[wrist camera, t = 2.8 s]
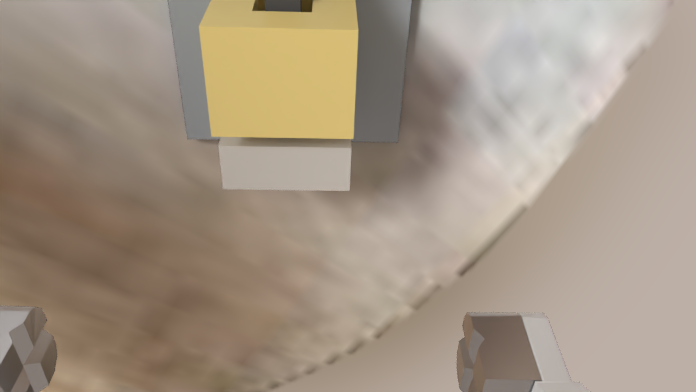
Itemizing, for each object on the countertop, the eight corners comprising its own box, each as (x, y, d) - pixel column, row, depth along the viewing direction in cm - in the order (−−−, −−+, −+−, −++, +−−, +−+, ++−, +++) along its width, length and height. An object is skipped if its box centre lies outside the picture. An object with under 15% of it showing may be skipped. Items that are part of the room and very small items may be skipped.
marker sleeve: (229, 75, 26) (211, 136, 21) (221, -23, 23) (198, 26, 19) (349, 77, 26) (353, 139, 22) (353, -19, 23) (358, 30, 19)
